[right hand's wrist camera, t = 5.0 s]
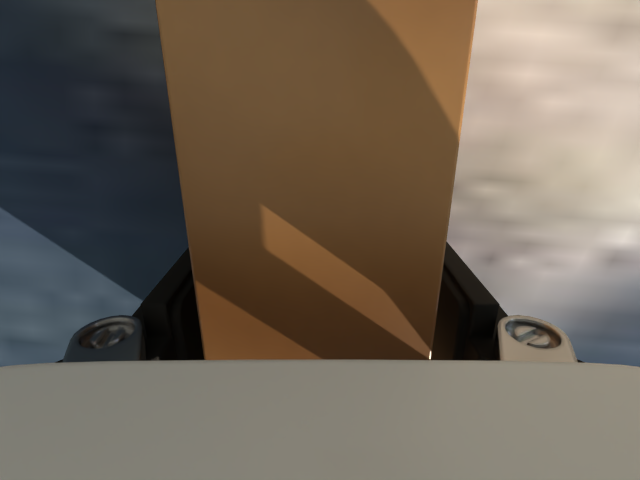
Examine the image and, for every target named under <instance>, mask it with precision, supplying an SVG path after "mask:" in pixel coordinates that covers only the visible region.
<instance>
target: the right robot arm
mask: <svg viewBox="0 0 640 480" xmlns="http://www.w3.org/2000/svg"><path fill="white" fill-rule="evenodd" d="M0 480H640V367H635V366H626V365H613V364H597V363H585V362H582V361H580V360H577V359H576V356H575V353H574V351H573V348H572V345H571V342H570V340H569V338H568V337H567V335H566V334H565V333H564V332H563V331H562V330H560V329H559V328H558V327H556V326H554V325H552V324H551V323H549V322H546V321H543V320H541V319H538V318H534V317H530V316H521V315H514V316H508V315H507V314H506V313H505V312H504V311H503V309H502V308H501V307H500V306H499V303H498V302H497V301H496V300H495V299H494V297H493V296H492V295H491V294H490V293H489V291H488V290H487V289H486V288H485V287H484V286H483V284H482V283H481V282H480V281H479V280H478V278H477V277H476V276H475V275H474V274H473V272H472V271H471V270H470V269H469V268H468V267H467V265H466V264H465V263H464V262H463V261H462V259H461V258H460V257H459V256H458V255H457V253H456V252H455V251H454V250H453V249H452V248H451V246H450V245H449V244H448V243H447V242H446V248H445V255H444V263H443V271H442V278H441V286H440V293H439V301H438V309H437V316H436V324H435V332H434V339H433V347H432V355H431V360H204V354H203V347H202V339H201V332H200V325H199V317H198V310H197V303H196V295H195V288H194V281H193V273H192V266H191V259H190V251H189V248H188V249H187V250H186V251H185V252H184V253H183V255H182V256H181V257H180V258H179V259H178V261H177V262H176V263H175V264H174V265H173V267H172V268H171V269H170V270H169V271H168V272H167V274H166V275H165V276H164V277H163V278H162V280H161V281H160V282H159V283H158V284H157V286H156V287H155V288H154V289H153V290H152V291H151V293H150V294H149V295H148V296H147V297H146V299H145V300H144V301H143V302H142V303H141V306H140V307H139V308H138V309H137V311H136V312H135V313H134V314H133V315H132V316H126V315H119V316H110V317H106V318H102V319H99V320H97V321H94V322H91V323H89V324H88V325H86V326H84V327H82V328H81V329H80V330H78V331H77V332H76V333H75V334H74V335H73V337H72V338H71V340H70V342H69V345H68V348H67V351H66V353H65V356H64V359H63V360H60V361H58V362H55V363H42V364H27V365H13V366H5V367H0Z"/></svg>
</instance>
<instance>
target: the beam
mask: <svg viewBox="0 0 640 480" xmlns="http://www.w3.org/2000/svg"><path fill="white" fill-rule="evenodd" d="M155 3H156V10H157V17H158V25H159V32H160V39H161V47H162V54H163V61H164V68H165V76H166V83H167V90H168V98H169V105H170V112H171V120H172V127H173V134H174V142H175V149H176V156H177V164H178V171H179V178H180V186H181V193H182V200H183V207H184V215H185V222H186V229H187V237H188V244H189V251H190V259H191V266H192V273H193V281H194V288H195V295H196V303H197V310H198V317H199V325H200V332H201V339H202V347H203V354H204V360H431V355H432V347H433V339H434V332H435V324H436V316H437V309H438V301H439V293H440V286H441V278H442V271H443V263H444V255H445V248H446V240H447V232H448V225H449V217H450V209H451V202H452V194H453V187H454V179H455V171H456V164H457V156H458V148H459V141H460V133H461V125H462V118H463V110H464V103H465V95H466V87H467V80H468V72H469V64H470V57H471V49H472V41H473V34H474V26H475V19H476V11H477V3H478V0H155Z"/></svg>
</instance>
